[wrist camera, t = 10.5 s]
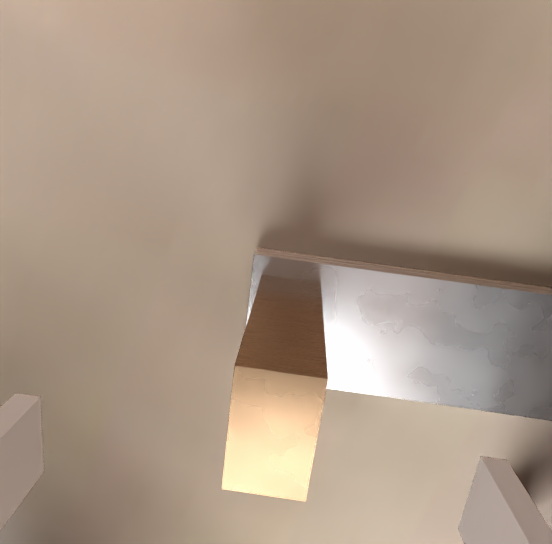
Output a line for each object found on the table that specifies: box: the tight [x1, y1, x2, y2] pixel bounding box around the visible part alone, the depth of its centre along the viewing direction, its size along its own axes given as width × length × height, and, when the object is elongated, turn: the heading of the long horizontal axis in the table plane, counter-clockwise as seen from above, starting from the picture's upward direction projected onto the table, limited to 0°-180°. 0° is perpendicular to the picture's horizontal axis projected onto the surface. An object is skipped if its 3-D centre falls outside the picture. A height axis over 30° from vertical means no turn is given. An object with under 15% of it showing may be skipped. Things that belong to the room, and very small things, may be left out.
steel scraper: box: [222, 247, 552, 502], centre depth 20 cm, size 19×7×10 cm, turn 83°
